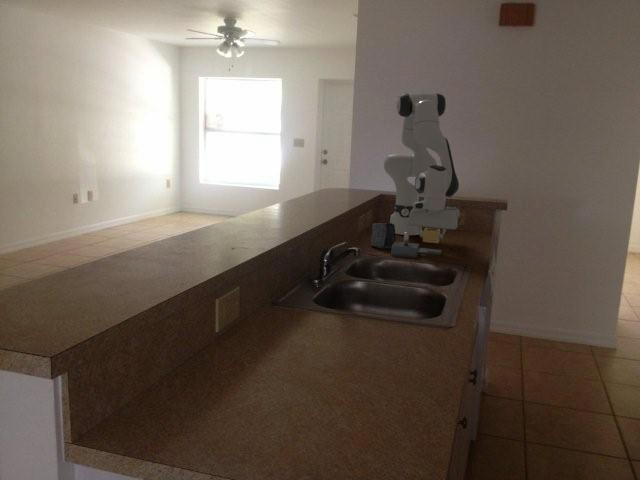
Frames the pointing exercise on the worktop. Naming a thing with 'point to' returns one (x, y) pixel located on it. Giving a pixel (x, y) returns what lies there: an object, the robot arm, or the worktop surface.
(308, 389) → the worktop surface
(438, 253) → the mat
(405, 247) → the post block
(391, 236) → the stone
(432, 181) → the robot arm
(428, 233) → the ring
